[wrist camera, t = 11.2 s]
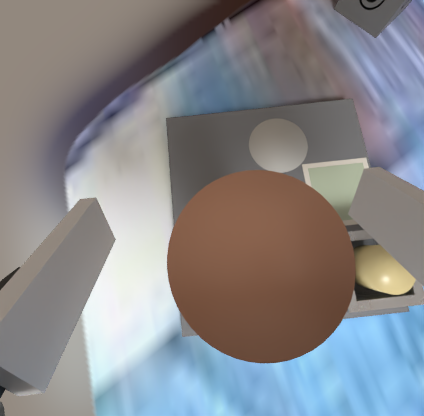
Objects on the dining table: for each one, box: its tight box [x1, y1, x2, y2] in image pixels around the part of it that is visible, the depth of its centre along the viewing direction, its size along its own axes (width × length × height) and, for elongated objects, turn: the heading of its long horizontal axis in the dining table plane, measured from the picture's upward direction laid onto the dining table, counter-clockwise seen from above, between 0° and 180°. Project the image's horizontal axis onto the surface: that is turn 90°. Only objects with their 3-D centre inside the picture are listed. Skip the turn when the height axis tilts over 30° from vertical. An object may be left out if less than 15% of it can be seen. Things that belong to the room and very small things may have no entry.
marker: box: [167, 170, 356, 363], centre depth 10 cm, size 4×4×11 cm
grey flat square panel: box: [166, 99, 409, 337], centre depth 17 cm, size 16×17×1 cm
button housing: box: [347, 230, 424, 313], centre depth 14 cm, size 5×5×2 cm
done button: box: [353, 245, 416, 295], centre depth 13 cm, size 3×3×2 cm
